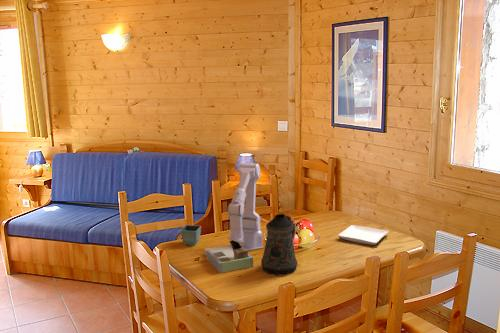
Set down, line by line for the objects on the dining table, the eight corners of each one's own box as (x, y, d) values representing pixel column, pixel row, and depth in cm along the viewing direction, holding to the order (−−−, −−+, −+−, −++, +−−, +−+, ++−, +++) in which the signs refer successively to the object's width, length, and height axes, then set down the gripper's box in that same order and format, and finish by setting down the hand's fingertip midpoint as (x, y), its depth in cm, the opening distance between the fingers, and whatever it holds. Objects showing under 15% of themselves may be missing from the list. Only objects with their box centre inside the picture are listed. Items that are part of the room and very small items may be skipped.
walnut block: (243, 257, 230) (243, 247, 229) (247, 261, 226) (247, 250, 225) (234, 259, 229) (233, 249, 228) (238, 262, 224) (237, 252, 223)
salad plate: (389, 236, 264) (389, 230, 263) (376, 248, 247) (376, 242, 246) (351, 229, 275) (351, 224, 275) (337, 241, 258) (337, 235, 257)
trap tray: (233, 248, 249) (232, 240, 248) (253, 266, 226) (252, 257, 225) (202, 254, 242) (202, 245, 241) (219, 272, 219) (219, 263, 219)
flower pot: (197, 247, 251) (196, 231, 249) (180, 246, 253) (180, 230, 251) (202, 241, 260) (201, 225, 258) (186, 240, 261) (185, 224, 260)
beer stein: (259, 275, 217) (258, 221, 212) (264, 258, 235) (263, 208, 230) (296, 276, 214) (296, 222, 209) (298, 259, 233) (298, 209, 228)
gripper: (222, 224, 233) (223, 251, 236) (234, 233, 220) (234, 262, 223) (236, 222, 236) (237, 249, 238) (248, 231, 223) (248, 259, 225)
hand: (236, 255), depth 231 cm, fingers closed
